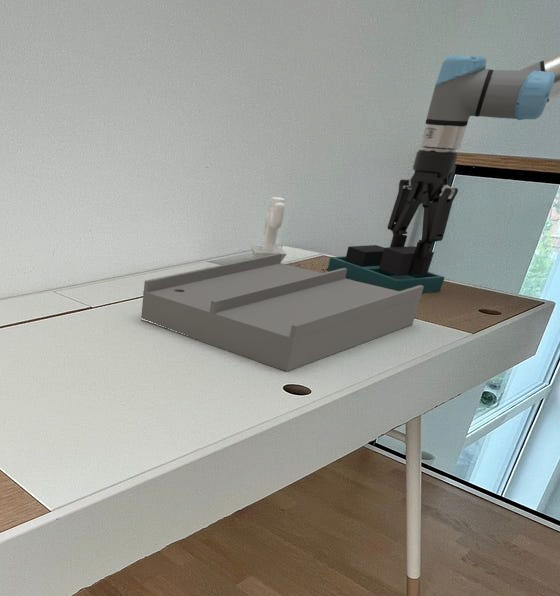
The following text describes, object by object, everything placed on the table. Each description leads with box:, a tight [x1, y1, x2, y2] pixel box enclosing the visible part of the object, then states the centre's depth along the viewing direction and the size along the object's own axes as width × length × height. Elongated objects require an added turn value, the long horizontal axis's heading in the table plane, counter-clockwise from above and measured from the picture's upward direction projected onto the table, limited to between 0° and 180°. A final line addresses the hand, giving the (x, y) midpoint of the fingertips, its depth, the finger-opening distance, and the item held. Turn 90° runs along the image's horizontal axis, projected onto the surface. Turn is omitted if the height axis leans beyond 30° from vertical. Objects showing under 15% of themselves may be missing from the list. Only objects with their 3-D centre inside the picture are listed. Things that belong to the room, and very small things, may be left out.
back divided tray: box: [327, 255, 445, 294], centre depth 152 cm, size 22×13×3 cm, turn 20°
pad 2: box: [379, 245, 435, 276], centre depth 145 cm, size 6×8×4 cm
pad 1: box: [345, 244, 385, 267], centre depth 155 cm, size 6×8×4 cm
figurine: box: [250, 196, 287, 264], centre depth 157 cm, size 7×9×15 cm
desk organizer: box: [140, 253, 424, 373], centre depth 122 cm, size 32×40×7 cm
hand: (403, 270), depth 146 cm, fingers closed on pad 2, 6 cm apart
